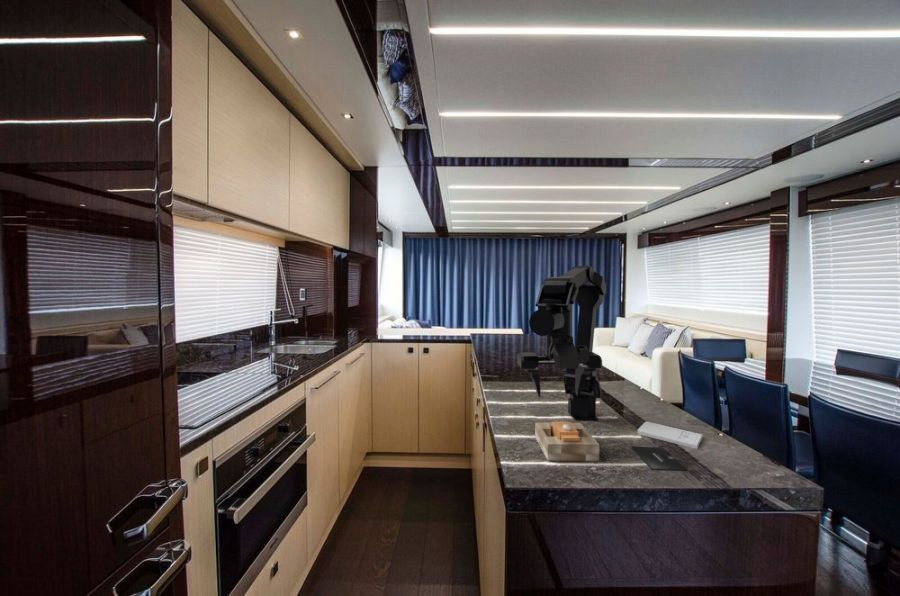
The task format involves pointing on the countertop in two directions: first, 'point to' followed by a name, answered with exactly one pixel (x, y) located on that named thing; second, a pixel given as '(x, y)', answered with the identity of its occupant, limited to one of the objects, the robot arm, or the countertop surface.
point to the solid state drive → (658, 459)
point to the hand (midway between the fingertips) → (558, 395)
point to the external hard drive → (670, 434)
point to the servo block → (565, 431)
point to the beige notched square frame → (566, 444)
